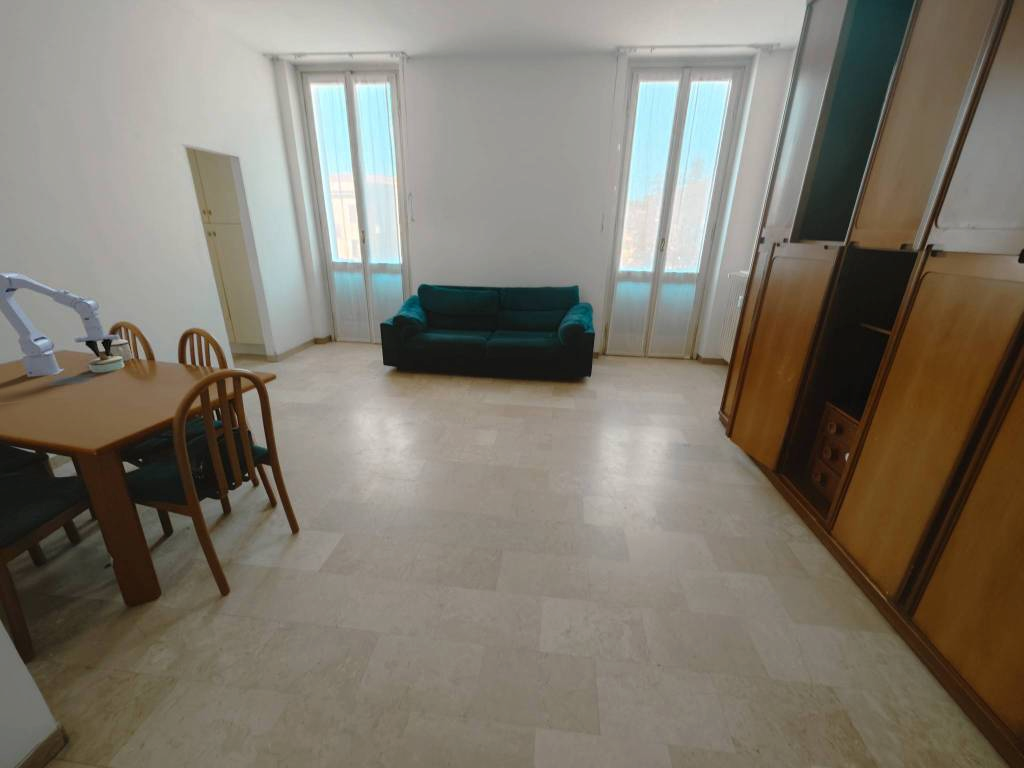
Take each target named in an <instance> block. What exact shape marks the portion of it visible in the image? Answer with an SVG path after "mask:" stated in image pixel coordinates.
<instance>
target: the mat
mask: <svg viewBox="0 0 1024 768" xmlns="http://www.w3.org/2000/svg"><path fill="white" fill-rule="evenodd" d="M95 375H97V373H90V374H89V373H87V374H78V375H69V376H60V377H58V378H56V379H55V380H54V381H52V382H51V383H49V384H48V385H46V387H53V386H64V385H73V384H74V385H75V384H81V383H82V384H83V383H87V382H88V381H90V380H91V379H92V378H93V377H94V376H95Z"/></svg>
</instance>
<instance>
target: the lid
mask: <svg viewBox="0 0 1024 768" xmlns="http://www.w3.org/2000/svg"><path fill="white" fill-rule="evenodd" d="M98 354H99V357H97V358H96V357H95V358H92V359H88V360H86V362H85V363H86V364H87V365H89V364H104V363H111V362H116V361H120V360H122V359H123V358H122V357H121V356H112V357H108V356H107V355H106V352H105V350H104V351H103V350H102V351H100V350H99V352H98Z"/></svg>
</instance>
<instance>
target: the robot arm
mask: <svg viewBox="0 0 1024 768" xmlns="http://www.w3.org/2000/svg"><path fill="white" fill-rule="evenodd" d="M19 289H27V290H29V291H30V290H31V291H33V292H36V293H38V294H42V295H45V296H47V297H50V298H52V300H53V302H55V303H58V304H60V305H62V306H64V307H65V306H66V307H68V308H71V309H73V310H74V312H75V313H76V314H78V315H79V316H80V319H81V321H82V324H83V327H84V330H85V333H86V336H80V337H75V338H74V342H75V343H76V344H77V343H85V344H84V345H85V346H86V347H88V348H89V349H90V350H91V351H92V352H93V353H94V355H95V357H97V358H100V357H99V354H98V352H100V349H99V347H98V341H99V342H100V343H101V345H102V347H103V349H104V351H105V352H106V355H107V356H110V355H111V354H110V348H111V343H112V340H119V339H121V337H120V334H106V333H105V329H104V326H103V323H102V321H101V318H100V315H99V312H98V310H99V303H97V302H96V301H95V300H93V299H92V298H84V296H79V295H75V294H74V293H70V292H71V291H69V290H67V289H66V290H64V289H61V290H57V289H54V288H51V287H50V286H47V285H45V284H43V283H42V282H41V283H40V282H38V281H37V280H35V279H31V278H30V277H28V276H27V275H25V274H21V273H19V272H16V271H6V272H1V273H0V312H1V313H2V315H3V316H4V317H5V318H6V320H7V321H8V322H9V324H10V325H11V326H12V328H13V329H14V330H15V331H16V332H17V334H18V335H19V337H18V341H17V342H18V344H19V346H20V350H21V352H22V353H23V354H24V356H23V357H22V358H21V363H22V366H23V368H24V370H25V373H26V375H27V378H31V377H42V376H51V375H57V374H59V373H60V372H62V371H64V370H65V368H60V367H59V363H58V362H57V359H56V356H55V354H54V351H53V350H54V348H55V343H54V341H52V339H50V338H48V337H47V336H46V334H45V333H42V332H40V331H38V330H37V328H36V327H35V326H34V325H33V323H32V322H31V320H30V319H29V317H28V316H27V315H26V314H25V312H24V310H22V308H21V307H20V305H19V304H18V303H17V301H16V299H15V298H14V297H13V296H14V294H15V293H16V291H17V290H19Z"/></svg>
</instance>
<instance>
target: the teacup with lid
mask: <svg viewBox="0 0 1024 768" xmlns="http://www.w3.org/2000/svg"><path fill="white" fill-rule="evenodd" d="M110 354H111V355H110V356H108V357H112V356H121V357H122V358H123V362H126V361H127V362H128V361H131V360H132V359H134V355H133V354H132V351H131V347H130V345H129V341H128V340H126V339H123V338H122V339H121V338H120V339H119V340H112V343H111V348H110Z"/></svg>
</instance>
